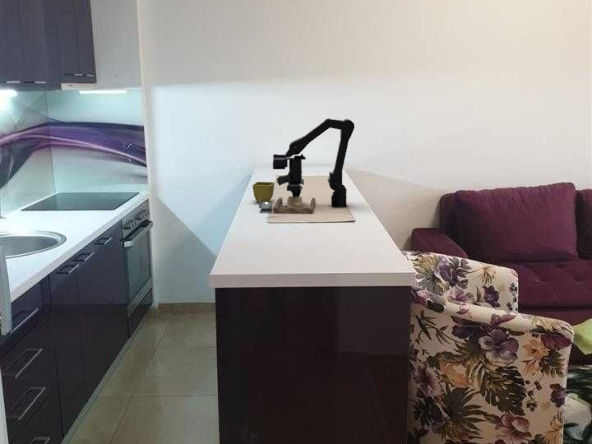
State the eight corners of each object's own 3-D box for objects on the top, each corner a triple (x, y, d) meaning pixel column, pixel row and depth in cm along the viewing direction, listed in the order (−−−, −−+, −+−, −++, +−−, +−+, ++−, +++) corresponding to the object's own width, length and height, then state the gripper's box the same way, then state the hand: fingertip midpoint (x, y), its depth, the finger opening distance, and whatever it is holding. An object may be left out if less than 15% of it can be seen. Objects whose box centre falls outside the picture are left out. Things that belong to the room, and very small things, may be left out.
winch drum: (272, 210, 278) (272, 197, 276) (271, 212, 273) (271, 199, 272) (260, 210, 278) (259, 197, 277) (258, 212, 274) (258, 199, 272)
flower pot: (270, 204, 291) (270, 185, 289) (252, 203, 293) (252, 184, 291) (274, 200, 300) (274, 182, 298) (257, 200, 301) (256, 181, 299)
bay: (315, 203, 293) (315, 198, 293) (312, 213, 271) (312, 208, 270) (279, 202, 295) (279, 197, 294) (273, 213, 272) (273, 207, 272)
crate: (302, 207, 284) (302, 196, 283) (301, 210, 278) (301, 199, 277) (288, 207, 285) (288, 196, 284) (287, 209, 279) (287, 199, 278)
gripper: (280, 166, 292) (280, 198, 296) (275, 172, 274) (275, 207, 278) (303, 166, 291) (304, 199, 295) (300, 172, 273) (300, 207, 277)
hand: (295, 202), depth 286 cm, fingers closed
